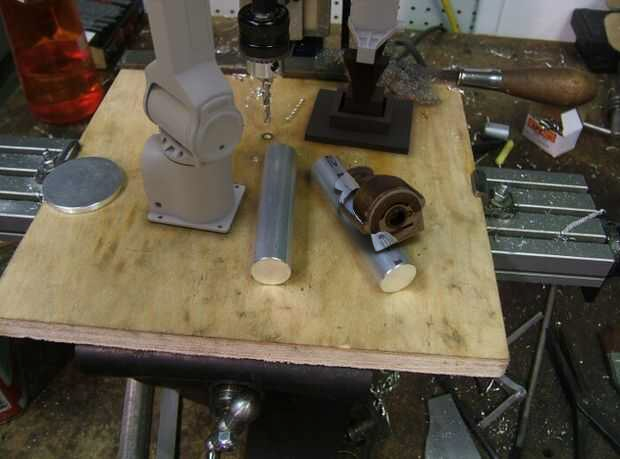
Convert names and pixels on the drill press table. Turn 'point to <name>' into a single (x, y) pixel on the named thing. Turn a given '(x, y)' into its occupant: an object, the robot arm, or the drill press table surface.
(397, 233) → the brown bearing housing
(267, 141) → the drill press table surface
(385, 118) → the base pad
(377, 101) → the dark brown block
